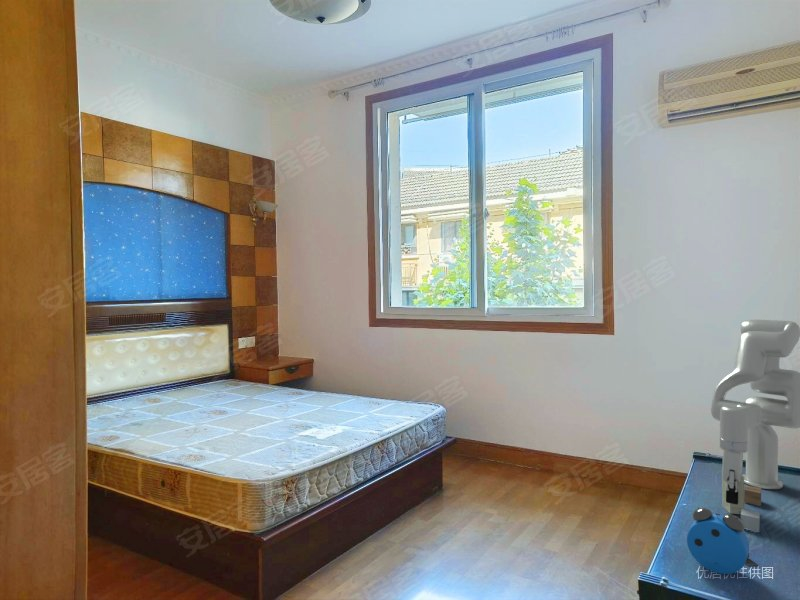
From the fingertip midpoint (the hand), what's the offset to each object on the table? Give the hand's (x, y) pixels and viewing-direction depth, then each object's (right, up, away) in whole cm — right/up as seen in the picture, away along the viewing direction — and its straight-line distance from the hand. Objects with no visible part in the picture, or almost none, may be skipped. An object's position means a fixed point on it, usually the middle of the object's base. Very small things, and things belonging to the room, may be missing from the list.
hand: (732, 498), depth 164 cm
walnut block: (+11, -4, +6) cm, 13 cm away
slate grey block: (-3, -4, -12) cm, 13 cm away
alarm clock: (-26, -6, -33) cm, 42 cm away
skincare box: (0, -4, 0) cm, 4 cm away
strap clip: (-16, -6, -28) cm, 33 cm away
